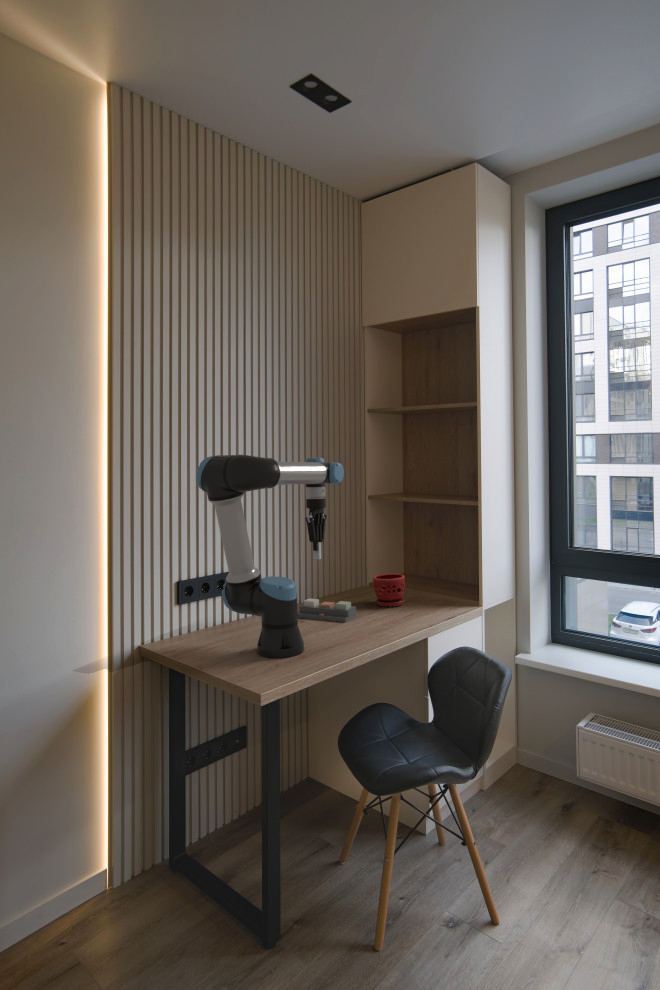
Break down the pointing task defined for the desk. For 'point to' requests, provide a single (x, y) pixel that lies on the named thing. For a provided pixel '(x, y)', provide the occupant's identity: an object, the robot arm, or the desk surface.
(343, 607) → the sage key
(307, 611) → the key console
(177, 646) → the desk surface
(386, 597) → the plant pot
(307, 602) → the ivory key
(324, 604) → the terracotta key
